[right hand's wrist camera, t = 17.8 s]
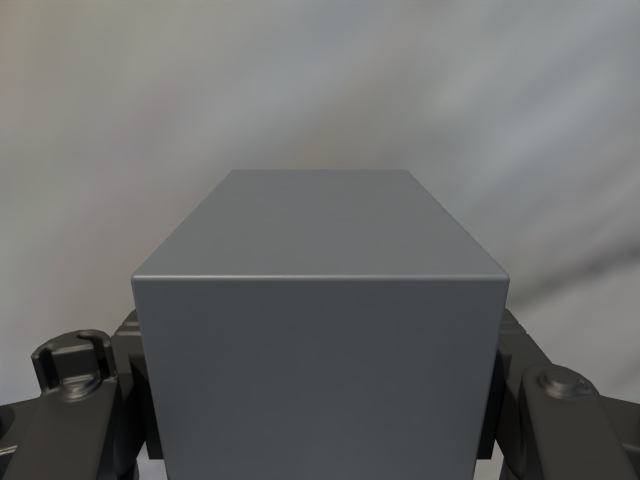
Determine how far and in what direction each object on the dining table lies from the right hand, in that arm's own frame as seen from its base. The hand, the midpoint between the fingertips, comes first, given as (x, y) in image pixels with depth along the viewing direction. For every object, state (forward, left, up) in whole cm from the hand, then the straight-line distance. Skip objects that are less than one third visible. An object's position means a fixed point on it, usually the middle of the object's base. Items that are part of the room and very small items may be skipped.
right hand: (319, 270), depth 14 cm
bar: (-6, +8, -1) cm, 10 cm away
